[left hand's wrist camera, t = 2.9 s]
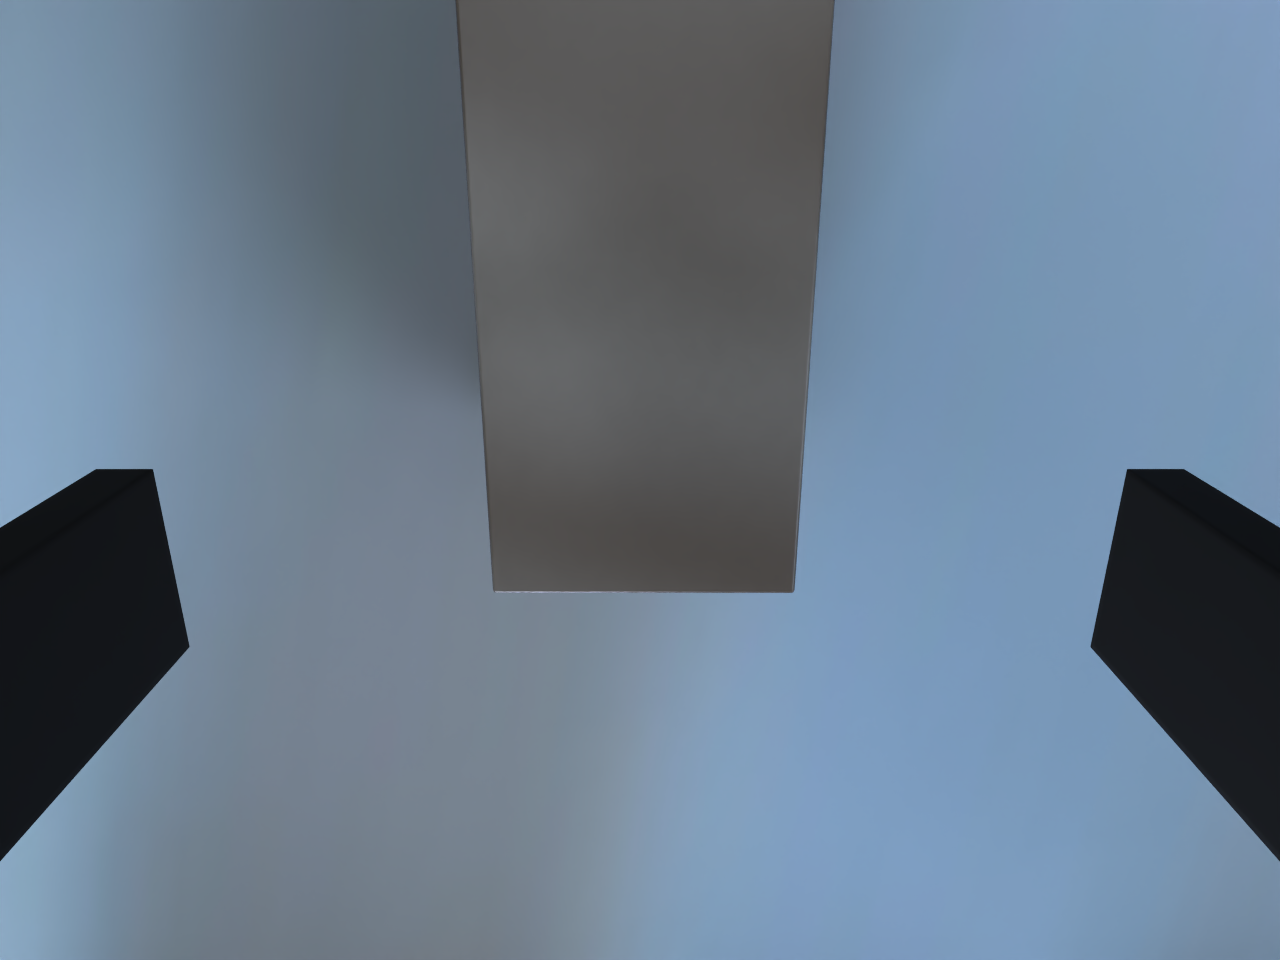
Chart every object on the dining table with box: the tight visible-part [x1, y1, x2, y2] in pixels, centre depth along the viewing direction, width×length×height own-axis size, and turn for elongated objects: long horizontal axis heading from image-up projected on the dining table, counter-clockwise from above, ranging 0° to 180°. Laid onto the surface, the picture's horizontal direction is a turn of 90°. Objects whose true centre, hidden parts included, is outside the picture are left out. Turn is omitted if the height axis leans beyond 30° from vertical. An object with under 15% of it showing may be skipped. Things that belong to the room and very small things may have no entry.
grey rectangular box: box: [455, 0, 835, 593], centre depth 21 cm, size 21×6×12 cm, turn 0°
